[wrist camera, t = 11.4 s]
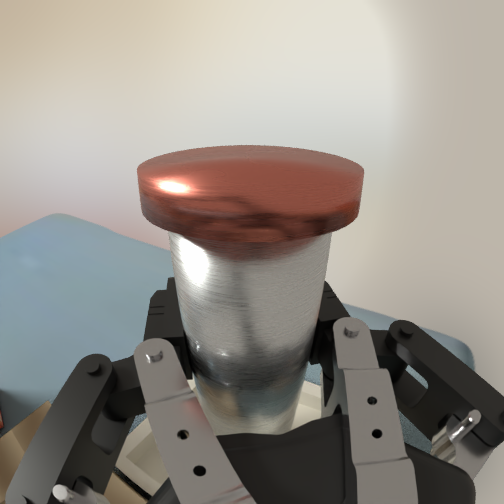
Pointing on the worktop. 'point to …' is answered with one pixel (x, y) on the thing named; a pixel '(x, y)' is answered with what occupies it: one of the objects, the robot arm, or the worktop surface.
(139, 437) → the tray
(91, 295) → the worktop surface
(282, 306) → the pin
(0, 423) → the cracker box
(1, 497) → the socket block
